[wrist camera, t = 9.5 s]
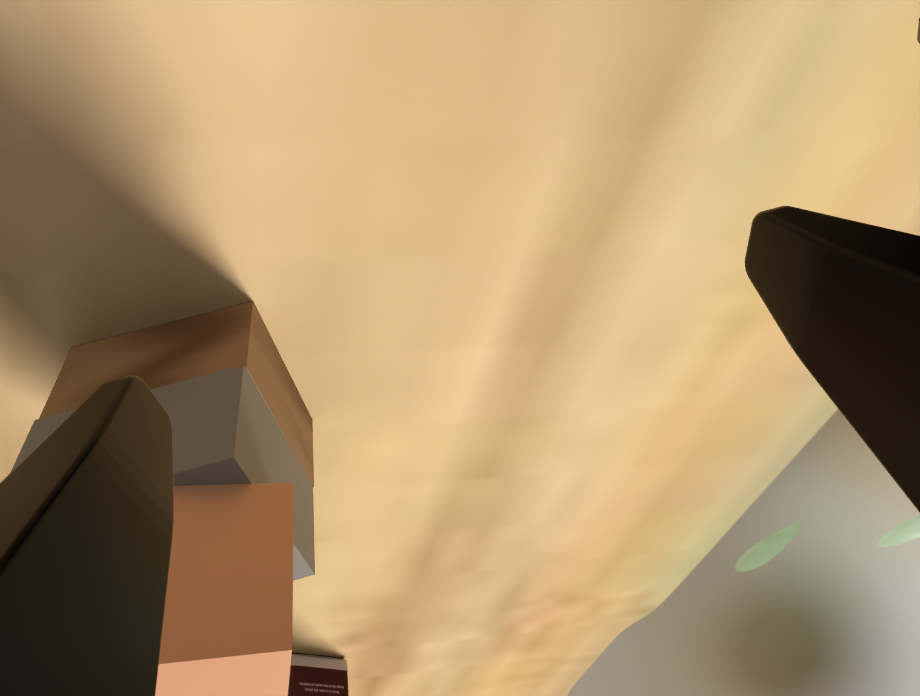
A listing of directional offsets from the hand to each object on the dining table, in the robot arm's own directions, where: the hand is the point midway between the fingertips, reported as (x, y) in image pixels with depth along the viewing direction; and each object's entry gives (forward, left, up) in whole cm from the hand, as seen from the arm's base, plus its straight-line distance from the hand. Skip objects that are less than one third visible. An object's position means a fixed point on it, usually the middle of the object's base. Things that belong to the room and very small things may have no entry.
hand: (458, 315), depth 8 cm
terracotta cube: (+9, +10, -5) cm, 14 cm away
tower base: (+10, +11, -13) cm, 20 cm away
